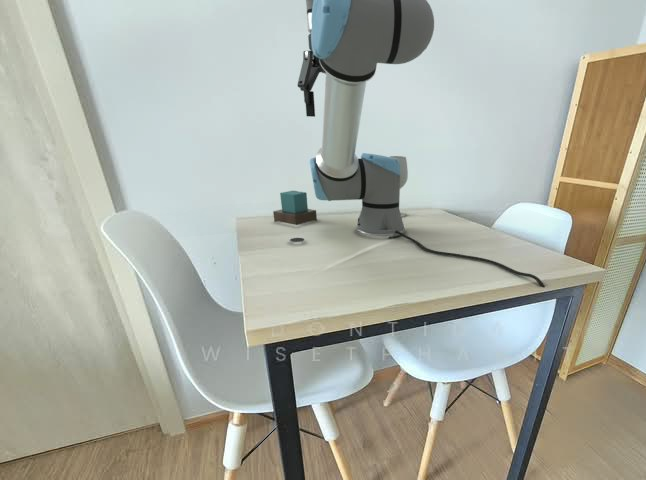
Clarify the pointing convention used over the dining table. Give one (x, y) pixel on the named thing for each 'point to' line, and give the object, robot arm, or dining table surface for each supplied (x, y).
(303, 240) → the cap
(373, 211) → the robot arm
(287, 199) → the block
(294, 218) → the block
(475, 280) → the dining table surface
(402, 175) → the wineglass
